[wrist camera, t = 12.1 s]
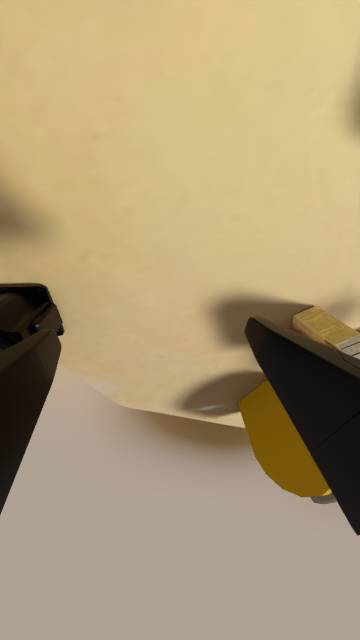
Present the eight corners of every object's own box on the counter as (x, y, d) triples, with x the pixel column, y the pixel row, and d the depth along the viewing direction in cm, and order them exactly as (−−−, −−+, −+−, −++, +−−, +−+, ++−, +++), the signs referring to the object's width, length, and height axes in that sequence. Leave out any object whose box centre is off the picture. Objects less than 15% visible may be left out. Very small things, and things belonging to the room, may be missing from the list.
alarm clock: (252, 412, 46) (307, 514, 31) (232, 406, 42) (284, 520, 27) (299, 378, 40) (393, 481, 25) (282, 368, 36) (380, 483, 22)
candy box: (311, 340, 33) (416, 424, 20) (290, 349, 33) (380, 437, 21) (315, 304, 28) (458, 388, 15) (290, 315, 28) (410, 406, 16)
